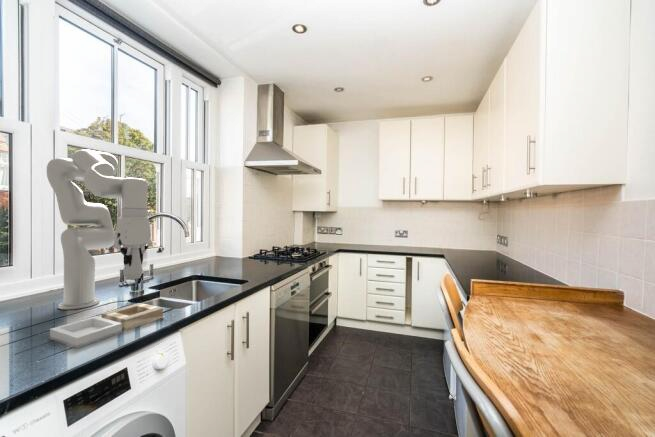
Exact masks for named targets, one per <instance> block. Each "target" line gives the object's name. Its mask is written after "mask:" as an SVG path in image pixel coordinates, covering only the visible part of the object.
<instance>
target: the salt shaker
mask: <svg viewBox="0 0 655 437" xmlns="http://www.w3.org/2000/svg"><path fill="white" fill-rule="evenodd" d="M139 248H141V245H139V244H136V245H133V246H131V253H130V255H132V263H131V266H129V263H128V264H125V266H123V270H122V274H123V276H124V277H125V279H126V280H137V279H140V278H141V276H142V274H143V272H144V270H143V262H142V263H141V259H140V252H139Z"/></svg>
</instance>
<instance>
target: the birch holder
mask: <svg viewBox="0 0 655 437" xmlns="http://www.w3.org/2000/svg"><path fill="white" fill-rule="evenodd" d="M101 318H105V319H108V320H112V321H116V322H119V323H122V331H128V330H131V329H134V328H137V327H139V326H143V325H145V324H148V323H151V322H154V321H157V320H159V319H162V318H164V308H163V307H161V306H155V305H152V304H146V303H142V302H137V303H134V304H129V305H127V306H123V307H119V308H116V309H113V310H108V311H106V312H102V313H101Z"/></svg>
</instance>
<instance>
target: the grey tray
mask: <svg viewBox="0 0 655 437" xmlns="http://www.w3.org/2000/svg"><path fill="white" fill-rule="evenodd" d="M122 333H123V330H122V323H119V322H116V321H112V320H108V319H105V318H102V316H97V315H95V316H91V317H87V318H84V319H80V320H77V321H73V322H70V323H67V324H62V325H59V326H56V327H53V328H50V329H49V339H50V340H51V341H55V342H57V343H60V344H63V345H66V346H68V347H71V348H73V349H80V348H83V347H86V346H88V345H89V346H90V344H94V343H97V342H100V341H103V340H106V339H109V338H111V337H114V336H117V335H119V334H122Z"/></svg>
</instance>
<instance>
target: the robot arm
mask: <svg viewBox="0 0 655 437" xmlns="http://www.w3.org/2000/svg"><path fill="white" fill-rule="evenodd" d="M118 162H119V161H118V159H117V158H116V157H115V155H113V154H111V153H109V152H103V151H98V150H97V151H96V150H91V149H84V148H83V149H79V150H76V151H74V152H73V153H72V155H71V158H62V157H58V158H53V159H50V160H49V161H48V163H47V165H46V177H47V180H48V182H49V185H50V187H51V189H52V190H53V192H54V193H55V195H56V197H55V198H56V201H57V207H58V210H59V215H60V218H61V220H62V222H63V224H64V225H67V226H76V227H68V228H67V229H66V228H65V230H64V231H63V232H61V235H60V243H61V247H62V254H63V294H62V298H63V301H61V302H60V303H59V304H58V305H57V308H58V309H60V310H67V311H68V310H69V311H70V310H77V309H79V310H80V309H85V308H88V307H92V306H95V305H97V304H99V303H100V298H98V297H95V294H96V293H95V292H96V291H95V290H96V289H95V288H96V287H95V286H96V283H95V282H96V281H95V280H96V261H95V258H94V256H93V255H92V254H91V253H90V252H89V251H90V250H91V251H92V250H100V249H109V248H112V249H114V250H117V251H118V252H120V253H121V255H123V265H124V266H125V264H128V263H129V266H131V263H132V255H130V253H131V246H133V245H136V244H139V245H141V248H139V252H140V259H141V263H142V264H143V262H144V254H145V253H146V250H148V248H150V247H152V246H153V241H152V239H151V235H152V234H151V224H150V218H149V217H148V215H149V214H150V213H151V211H150V210H148V189H149V188H148V187H149V186H148V184H149V183H148V181H147V180H146V179H144V178H137V177H126V178H123V177H117V176H116V177H115V176H114V175H115V174H116V172H117V170H118V168H119V163H118ZM73 181H80V182H83V184H84V186H85V188H86V189H87V190H88V191H89V192H90V193H91V194H93V195H94V196H96V197H99V198H102V199H120V200H121V205H120V206H121V208H120V209H121V210H120V212H121V213H120V214H121V215H120V216H119V217H118V218H117V221H116V225H115V229H114V225H113V224H114V223H113V221H112V217H111V212H110V210H109V208H108V207H107V205H104V204H102V203H99V202H95V203H94V202H87V201H86V199H85V195H84V192H83V190H82V189H81V188H80V187H79V185H77V184H76V183H74V182H73ZM124 266H123V267H124Z"/></svg>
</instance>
